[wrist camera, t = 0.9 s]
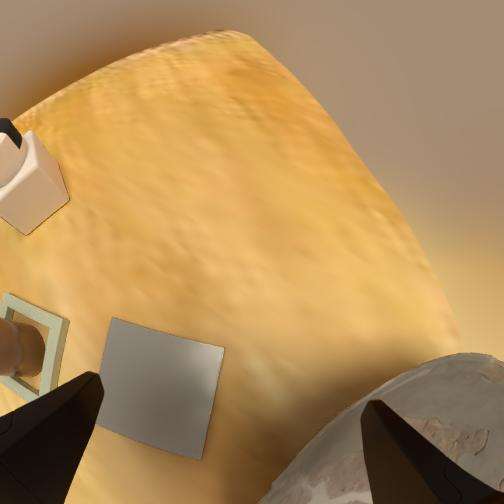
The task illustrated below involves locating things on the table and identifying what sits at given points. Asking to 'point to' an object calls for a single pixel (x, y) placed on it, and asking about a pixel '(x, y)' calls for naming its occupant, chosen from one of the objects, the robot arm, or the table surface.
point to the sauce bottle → (20, 349)
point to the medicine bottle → (27, 179)
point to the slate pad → (158, 388)
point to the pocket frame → (51, 353)
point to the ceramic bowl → (420, 418)
